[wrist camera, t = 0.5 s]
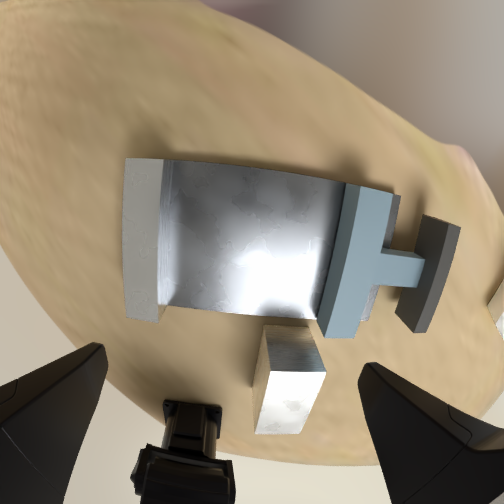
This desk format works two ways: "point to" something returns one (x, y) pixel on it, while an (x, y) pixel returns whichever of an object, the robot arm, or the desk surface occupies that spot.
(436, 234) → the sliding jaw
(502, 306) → the figurine
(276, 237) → the vise base
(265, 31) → the desk surface
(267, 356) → the steel block
